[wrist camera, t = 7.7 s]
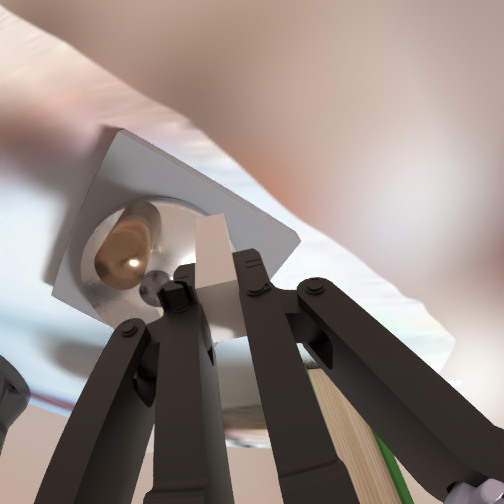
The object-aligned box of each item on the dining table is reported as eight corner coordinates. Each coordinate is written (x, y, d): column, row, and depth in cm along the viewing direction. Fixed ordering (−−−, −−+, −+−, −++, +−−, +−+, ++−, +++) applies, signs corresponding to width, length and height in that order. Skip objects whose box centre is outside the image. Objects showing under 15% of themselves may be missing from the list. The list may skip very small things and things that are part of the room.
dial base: (57, 284, 28) (50, 296, 26) (124, 128, 22) (117, 131, 20) (199, 351, 35) (199, 366, 33) (295, 231, 29) (302, 242, 27)
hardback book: (298, 363, 38) (353, 535, 17) (348, 358, 39) (417, 511, 18) (277, 428, 46) (307, 553, 25) (318, 423, 48) (355, 540, 27)
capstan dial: (247, 330, 31) (260, 401, 23) (117, 343, 30) (102, 411, 22) (230, 179, 24) (242, 224, 16) (67, 207, 22) (15, 259, 15)
